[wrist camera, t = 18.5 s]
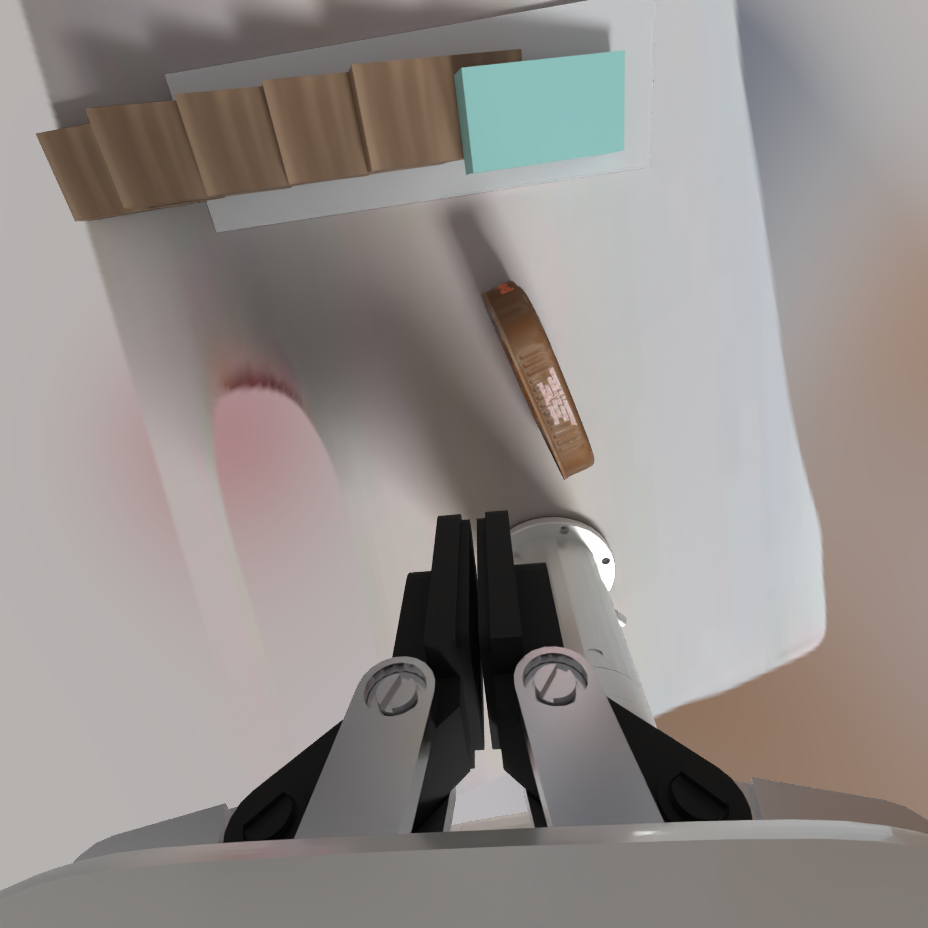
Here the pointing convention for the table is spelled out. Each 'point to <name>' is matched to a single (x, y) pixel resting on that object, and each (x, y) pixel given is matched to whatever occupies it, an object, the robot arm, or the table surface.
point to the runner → (534, 32)
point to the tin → (539, 377)
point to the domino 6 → (541, 110)
